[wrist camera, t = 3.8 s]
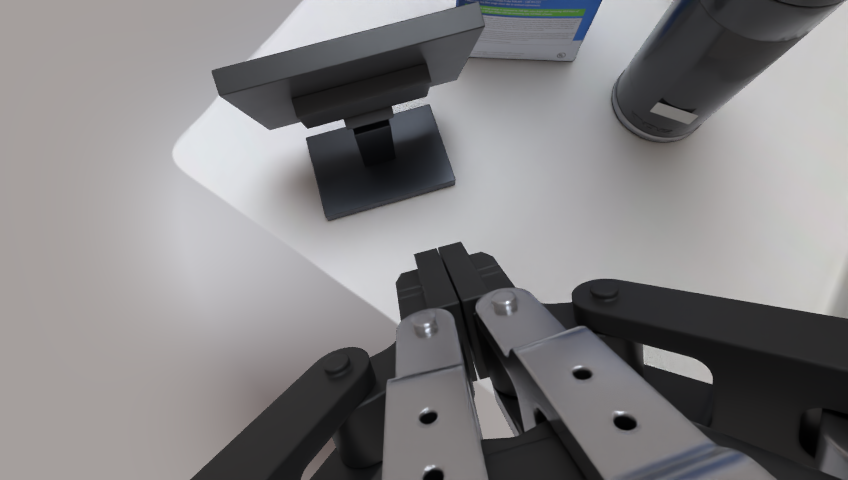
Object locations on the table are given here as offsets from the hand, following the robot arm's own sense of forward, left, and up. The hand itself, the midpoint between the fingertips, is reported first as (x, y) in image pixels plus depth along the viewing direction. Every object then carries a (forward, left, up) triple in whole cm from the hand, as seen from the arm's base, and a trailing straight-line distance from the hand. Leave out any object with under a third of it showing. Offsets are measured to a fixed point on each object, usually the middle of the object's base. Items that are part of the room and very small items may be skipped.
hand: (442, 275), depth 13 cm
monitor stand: (-11, -13, -26) cm, 31 cm away
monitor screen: (-13, -15, -20) cm, 28 cm away
